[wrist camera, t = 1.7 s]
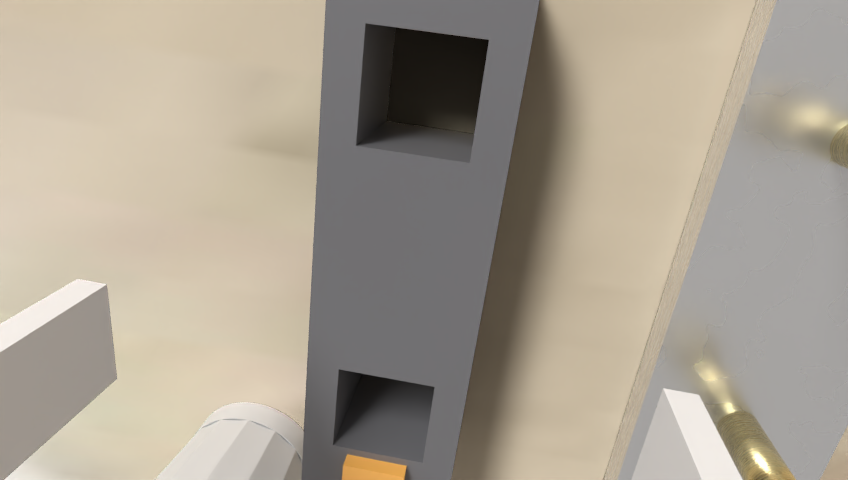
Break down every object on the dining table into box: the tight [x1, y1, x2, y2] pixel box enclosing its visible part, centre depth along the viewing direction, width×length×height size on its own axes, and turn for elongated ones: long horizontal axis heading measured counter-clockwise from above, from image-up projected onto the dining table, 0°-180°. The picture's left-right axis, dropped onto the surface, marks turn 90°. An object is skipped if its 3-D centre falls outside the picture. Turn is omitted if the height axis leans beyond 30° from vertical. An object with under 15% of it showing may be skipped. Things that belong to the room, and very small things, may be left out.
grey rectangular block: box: [301, 0, 540, 480], centre depth 21 cm, size 20×6×6 cm, turn 173°
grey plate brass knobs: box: [604, 0, 848, 480], centre depth 18 cm, size 24×8×8 cm, turn 173°
